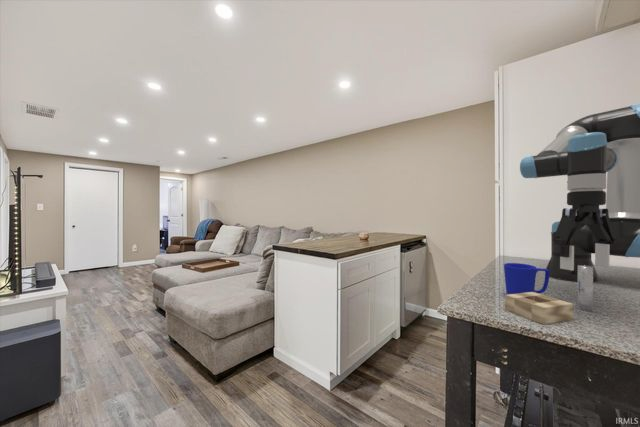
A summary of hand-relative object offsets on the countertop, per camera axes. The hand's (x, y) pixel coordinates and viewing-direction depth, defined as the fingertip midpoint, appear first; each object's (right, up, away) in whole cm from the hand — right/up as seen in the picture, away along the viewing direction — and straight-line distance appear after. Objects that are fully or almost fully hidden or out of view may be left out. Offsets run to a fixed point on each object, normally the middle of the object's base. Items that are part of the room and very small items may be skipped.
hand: (584, 268), depth 72 cm
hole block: (-15, -12, -3) cm, 19 cm away
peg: (0, -11, 0) cm, 11 cm away
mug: (-8, -12, +10) cm, 17 cm away
